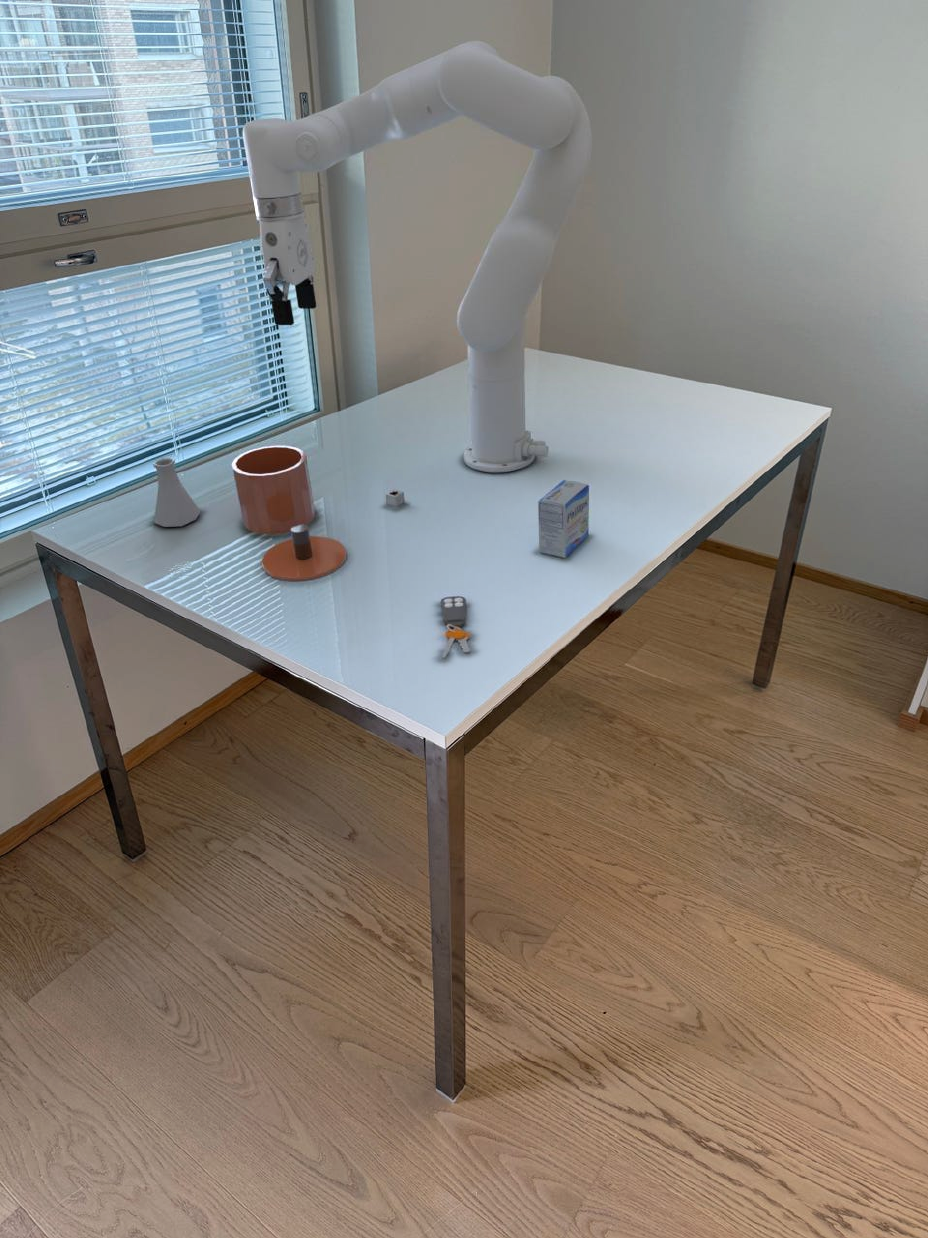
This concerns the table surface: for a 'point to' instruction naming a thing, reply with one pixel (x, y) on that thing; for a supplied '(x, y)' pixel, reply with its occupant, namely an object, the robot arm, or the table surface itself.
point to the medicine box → (563, 518)
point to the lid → (303, 556)
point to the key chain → (455, 621)
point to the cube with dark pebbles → (395, 498)
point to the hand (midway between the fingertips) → (296, 316)
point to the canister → (273, 489)
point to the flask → (172, 497)
